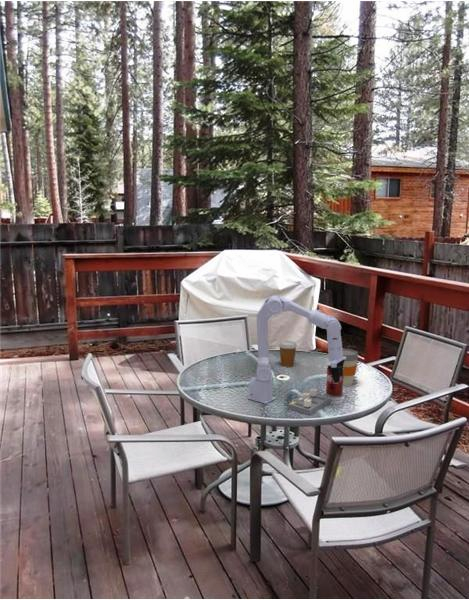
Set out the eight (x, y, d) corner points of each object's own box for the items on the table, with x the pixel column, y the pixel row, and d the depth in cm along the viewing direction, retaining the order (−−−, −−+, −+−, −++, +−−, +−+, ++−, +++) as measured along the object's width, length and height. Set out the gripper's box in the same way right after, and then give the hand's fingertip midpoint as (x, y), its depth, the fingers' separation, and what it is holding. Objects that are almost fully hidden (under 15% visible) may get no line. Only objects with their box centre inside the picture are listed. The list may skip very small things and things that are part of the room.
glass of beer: (297, 368, 247) (298, 345, 245) (278, 367, 247) (279, 345, 245) (295, 362, 256) (296, 341, 255) (277, 362, 257) (278, 340, 255)
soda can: (330, 390, 214) (332, 364, 212) (345, 394, 210) (347, 367, 208) (322, 394, 209) (324, 368, 207) (337, 398, 204) (339, 371, 202)
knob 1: (303, 406, 188) (303, 400, 188) (306, 404, 191) (307, 398, 190) (307, 407, 187) (308, 401, 187) (311, 405, 189) (311, 399, 189)
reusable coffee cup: (334, 376, 233) (335, 347, 231) (359, 381, 227) (361, 350, 225) (325, 384, 223) (326, 352, 220) (351, 389, 216) (353, 356, 214)
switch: (302, 399, 196) (302, 393, 195) (305, 397, 198) (305, 392, 197) (306, 400, 194) (306, 394, 194) (309, 398, 196) (310, 393, 196)
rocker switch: (309, 395, 200) (309, 389, 200) (312, 393, 202) (313, 388, 202) (313, 396, 199) (314, 390, 199) (317, 395, 201) (317, 389, 201)
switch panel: (287, 409, 192) (287, 404, 192) (308, 397, 205) (309, 392, 205) (309, 415, 186) (309, 410, 185) (329, 403, 199) (330, 398, 199)
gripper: (342, 351, 188) (345, 385, 190) (347, 342, 201) (350, 373, 203) (324, 352, 191) (327, 385, 193) (330, 342, 204) (333, 373, 206)
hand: (338, 379), depth 198 cm, fingers open, 7 cm apart
